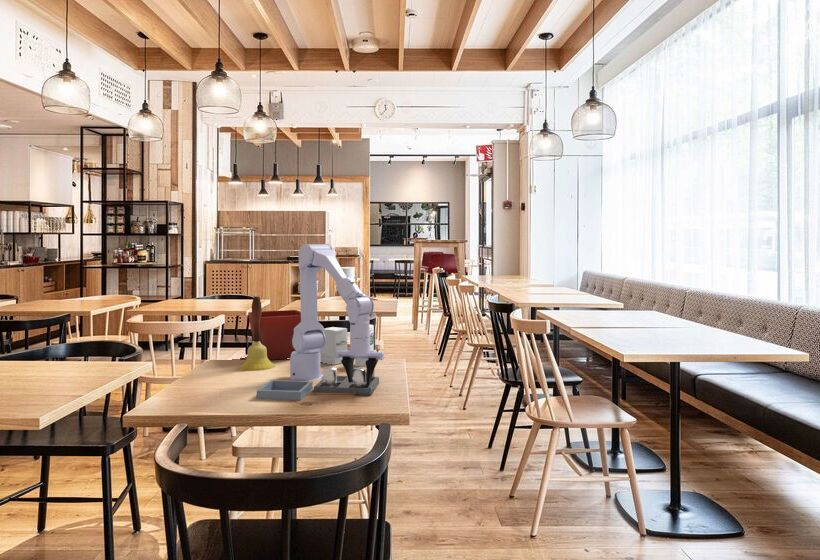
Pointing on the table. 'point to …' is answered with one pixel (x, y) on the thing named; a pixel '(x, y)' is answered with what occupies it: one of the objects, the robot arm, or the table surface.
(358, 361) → the syrup box
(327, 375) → the cylinder
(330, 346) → the supplement box
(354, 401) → the table surface
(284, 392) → the tote
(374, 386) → the frame
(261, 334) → the plant pot
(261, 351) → the handbell
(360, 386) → the billet
